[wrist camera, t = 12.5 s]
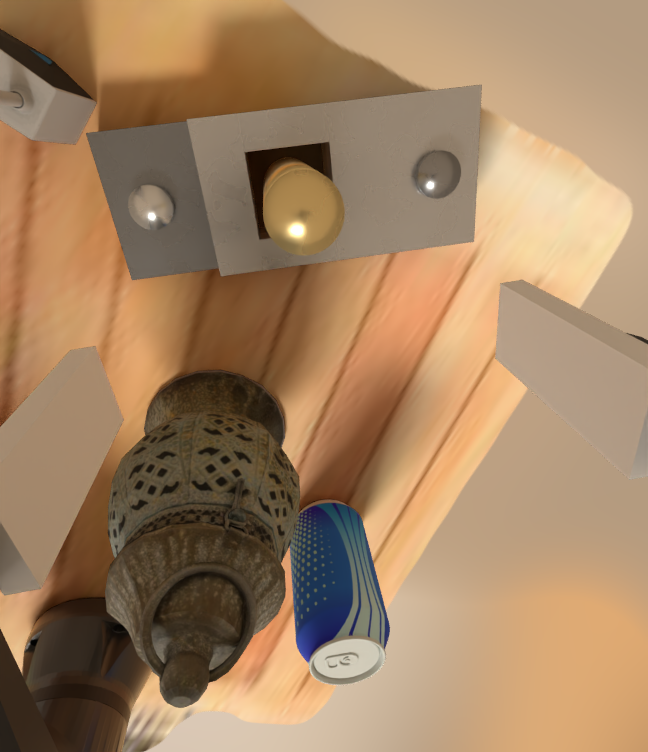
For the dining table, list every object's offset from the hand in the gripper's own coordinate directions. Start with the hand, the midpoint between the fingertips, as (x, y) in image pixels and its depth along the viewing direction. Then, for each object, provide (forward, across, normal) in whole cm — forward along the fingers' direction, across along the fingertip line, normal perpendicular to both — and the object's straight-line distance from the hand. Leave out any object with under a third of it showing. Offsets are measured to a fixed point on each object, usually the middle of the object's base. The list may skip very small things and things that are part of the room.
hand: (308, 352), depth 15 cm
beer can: (+25, 0, -33) cm, 41 cm away
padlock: (+25, -15, +11) cm, 31 cm away
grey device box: (+25, +1, +3) cm, 25 cm away
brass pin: (+25, +1, +3) cm, 25 cm away
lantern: (+25, -9, -18) cm, 32 cm away
